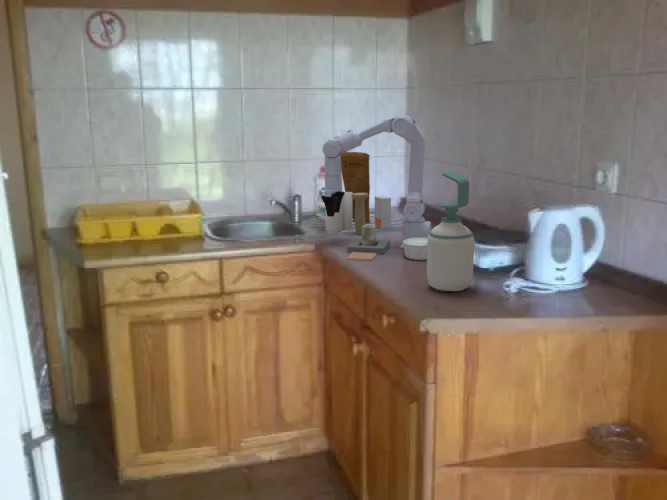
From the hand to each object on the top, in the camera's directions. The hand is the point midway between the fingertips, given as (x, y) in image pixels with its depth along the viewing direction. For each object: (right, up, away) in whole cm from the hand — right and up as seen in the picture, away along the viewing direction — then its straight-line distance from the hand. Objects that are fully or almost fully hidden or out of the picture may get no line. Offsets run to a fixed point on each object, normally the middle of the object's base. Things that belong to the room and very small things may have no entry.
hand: (333, 214), depth 238 cm
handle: (+10, -7, +16) cm, 20 cm away
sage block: (+12, -12, -8) cm, 19 cm away
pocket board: (+12, -12, -8) cm, 19 cm away
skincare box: (+19, -4, +28) cm, 34 cm away
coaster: (+9, -15, -18) cm, 25 cm away
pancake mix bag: (+9, 0, +42) cm, 43 cm away
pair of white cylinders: (+2, -5, +25) cm, 26 cm away
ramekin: (+28, -15, -18) cm, 36 cm away
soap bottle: (+31, -23, -52) cm, 65 cm away
